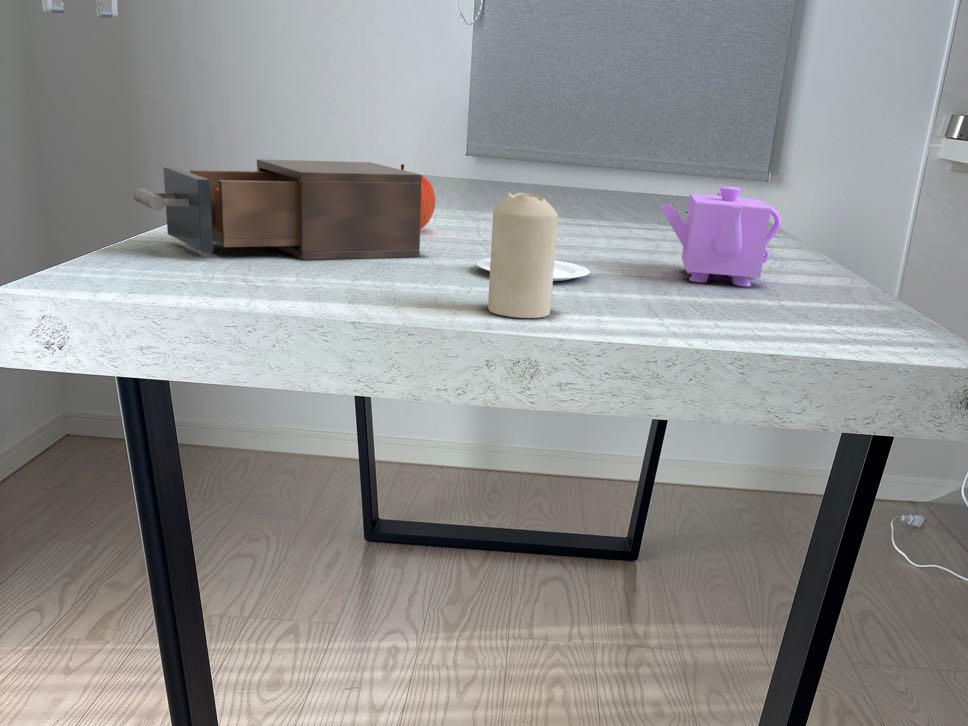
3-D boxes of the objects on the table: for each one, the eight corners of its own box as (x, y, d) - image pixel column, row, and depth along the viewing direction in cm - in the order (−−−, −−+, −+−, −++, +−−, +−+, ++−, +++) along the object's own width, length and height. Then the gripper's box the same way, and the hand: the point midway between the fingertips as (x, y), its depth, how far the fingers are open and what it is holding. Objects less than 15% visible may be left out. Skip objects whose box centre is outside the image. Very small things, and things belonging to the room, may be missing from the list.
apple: (431, 237, 130) (433, 169, 127) (366, 232, 130) (366, 163, 127) (437, 228, 137) (439, 164, 134) (374, 224, 137) (375, 159, 134)
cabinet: (302, 259, 109) (301, 172, 105) (259, 240, 118) (256, 159, 115) (419, 256, 116) (422, 174, 113) (370, 238, 125) (370, 162, 122)
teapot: (650, 260, 126) (660, 174, 122) (760, 270, 125) (774, 184, 122) (655, 287, 109) (667, 188, 105) (782, 298, 109) (799, 200, 105)
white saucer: (467, 262, 115) (469, 221, 113) (573, 266, 118) (577, 226, 116) (486, 283, 105) (488, 238, 103) (602, 287, 107) (606, 243, 106)
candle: (545, 321, 90) (554, 199, 86) (482, 314, 91) (488, 193, 87) (554, 309, 95) (563, 193, 91) (494, 303, 96) (500, 187, 92)
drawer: (160, 253, 101) (155, 178, 99) (129, 234, 110) (123, 165, 107) (321, 249, 110) (320, 181, 107) (280, 232, 119) (279, 169, 116)
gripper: (177, -140, 98) (186, 25, 103) (-75, -185, 87) (-50, 3, 92) (198, -148, 93) (206, 26, 99) (-65, -196, 82) (-39, 2, 88)
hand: (80, 15), depth 95 cm, fingers open, 3 cm apart
